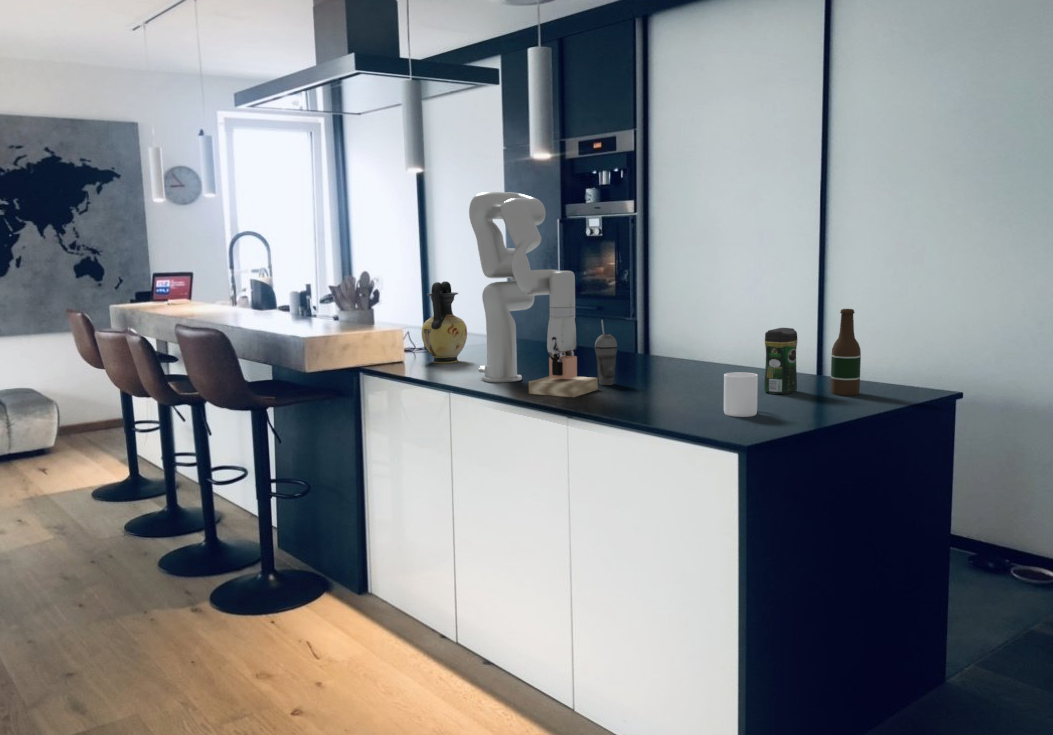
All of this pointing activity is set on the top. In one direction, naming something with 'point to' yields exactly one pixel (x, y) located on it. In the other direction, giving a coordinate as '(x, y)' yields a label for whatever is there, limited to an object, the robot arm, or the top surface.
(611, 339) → the beverage cup
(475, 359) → the top surface
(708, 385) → the top surface
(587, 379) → the maple block
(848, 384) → the beer bottle
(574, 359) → the terracotta cube
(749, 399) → the cup
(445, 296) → the amphora
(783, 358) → the coffee jar
